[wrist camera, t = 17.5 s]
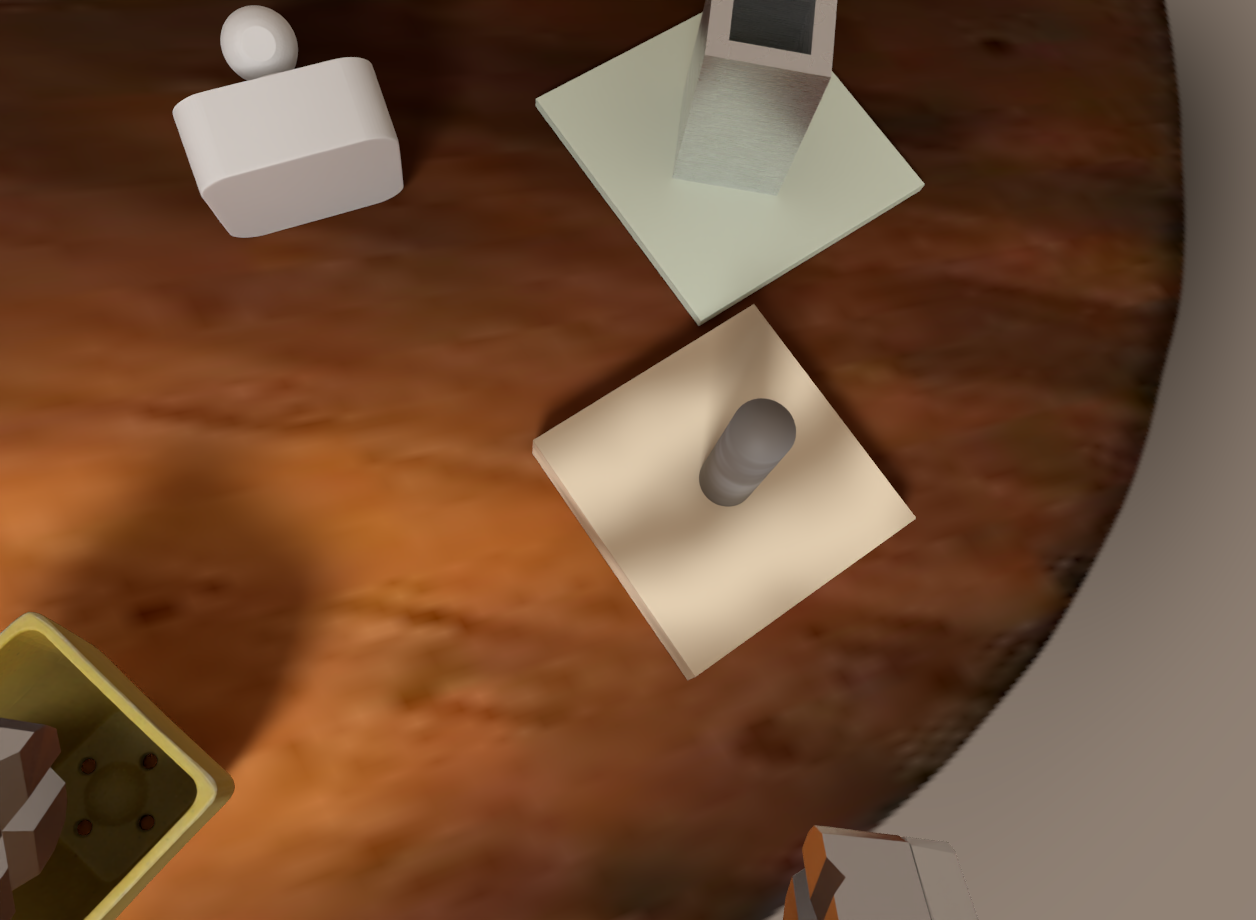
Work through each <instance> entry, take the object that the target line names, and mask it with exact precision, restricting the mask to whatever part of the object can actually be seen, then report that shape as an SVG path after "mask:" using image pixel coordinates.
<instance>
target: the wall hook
mask: <svg viewBox="0 0 1256 920" xmlns="http://www.w3.org/2000/svg"><path fill="white" fill-rule="evenodd" d="M221 48H222V52H223V55H224V57H225V59H226V61H227V63H228V64H229V66H230V67H231V68H232V69H233V70H234V71H235V72H236V73H237V74H238V75H239V76H241V77H242V78H244V79H246V80H248V81H245V82H241V83H237V84H233V85H229V86H225V87H221V88H217V89H212V90H209V91H205V92H201V93H197V94H194V95H192V96H189V97H187V98H185V99H184V100H182V101H181V102H179V103H178V104H177V105H176V106H175V107H174V109H173V117H174V119H175V122H176V125H177V128H178V131H179V134H180V137H181V140H182V142H183V145H184V148H185V151H186V154H187V157H188V160H189V163H190V165H191V168H192V171H193V174H194V177H195V180H196V183H197V186H198V188H199V191H200V194H201V196H202V197H203V199H204V200H205V202H206V203H207V204H208V206H209V207H210V208H211V210H212V211H213V212H214V214H215V215H216V217H217V218H218V219H219V221H220V222H221V223H222V225H223V226H224V227H225V229H226V230H227V231H228V232H229V234H230V235H232V236H234V237H241V238H247V237H257V236H262V235H266V234H269V233H273V232H277V231H280V230H284V229H287V228H291V227H294V226H298V225H302V224H305V223H309V222H312V221H316V220H320V219H323V218H327V217H330V216H334V215H338V214H341V213H345V212H348V211H352V210H355V209H359V208H363V207H366V206H370V205H373V204H377V203H380V202H383V201H385V200H388V199H390V198H392V197H394V196H395V195H397V194H398V193H399V192H400V191H401V190H402V189H403V186H404V185H403V175H402V165H401V156H400V148H399V142H398V138H397V136H396V133H395V130H394V127H393V124H392V121H391V118H390V115H389V112H388V110H387V107H386V104H385V101H384V98H383V95H382V92H381V89H380V86H379V84H378V81H377V78H376V75H375V72H374V69H373V66H372V64H371V63H370V62H369V61H368V60H366V59H363V58H358V57H344V58H338V59H334V60H329V61H325V62H321V63H317V64H313V65H309V66H305V67H301V68H297V69H294V68H295V65H296V62H297V57H298V44H297V40H296V36H295V34H294V31H293V29H292V28H291V26H290V25H289V23H288V22H287V21H286V20H285V19H284V18H283V17H282V16H281V15H280V14H278V13H277V12H275V11H273V10H272V9H269V8H266V7H263V6H255V5H252V6H246V7H242V8H240V9H238V10H236V11H234V12H233V13H232V14H231V15H230V16H229V17H228V18H227V20H226V21H225V23H224V25H223V28H222V31H221Z"/></svg>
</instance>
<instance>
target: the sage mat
mask: <svg viewBox="0 0 1256 920" xmlns="http://www.w3.org/2000/svg"><path fill="white" fill-rule="evenodd" d="M702 13H703V12H702ZM702 13H700V14H698V15H696V16H694V17H692V18H690V19H689V20H687V21H685V22H683V23H681V24H679V25H677V26H675V27H673V28H671V29H669V30H667V31H665V32H663V33H662V34H660V35H658V36H656V37H654V38H652V39H650V40H648V41H646V42H644V43H642V44H640V45H638V46H637V47H635V48H633V49H631V50H629V51H627V52H625V53H623V54H621V55H619V56H617V57H615V58H613V59H611V60H610V61H608V62H606V63H604V64H602V65H600V66H598V67H596V68H594V69H592V70H590V71H588V72H586V73H585V74H583V75H581V76H579V77H577V78H575V79H573V80H571V81H569V82H567V83H565V84H563V85H561V86H559V87H558V88H556V89H554V90H552V91H550V92H548V93H546V94H544V95H542V96H540V97H538V98H536V108H537V109H538V110H539V112H540V113H541V114H542V116H543V117H544V118H545V120H546V121H547V122H548V124H549V125H550V126H551V128H552V129H553V130H554V132H555V133H556V134H557V136H558V137H559V139H560V140H561V141H562V143H563V144H564V145H565V147H566V148H567V149H568V151H569V152H570V153H571V155H572V156H573V157H574V159H575V160H576V161H577V163H578V164H579V165H580V167H581V168H582V170H583V171H584V172H585V174H586V175H587V176H588V178H589V179H590V180H591V182H592V183H593V184H594V186H595V187H596V188H597V190H598V191H599V192H600V194H601V195H602V197H603V198H604V199H605V201H606V202H607V203H608V205H609V206H610V207H611V209H612V210H613V211H614V213H615V214H616V215H617V217H618V218H619V219H620V221H621V222H622V223H623V225H624V226H625V228H626V229H627V230H628V232H629V233H630V234H631V236H632V237H633V238H634V240H635V241H636V242H637V244H638V245H639V246H640V248H641V249H642V250H643V252H644V253H645V254H646V256H647V257H648V259H649V260H650V261H651V263H652V264H653V265H654V267H655V268H656V269H657V271H658V272H659V273H660V275H661V276H662V277H663V279H664V280H665V281H666V283H667V284H668V286H669V287H670V288H671V290H672V291H673V292H674V294H675V295H676V296H677V298H678V299H679V300H680V302H681V303H682V304H683V306H684V307H685V308H686V310H687V311H688V312H689V314H690V315H691V317H692V318H693V319H694V321H695V322H696V323H697V325H698V326H700V325H702V324H703V323H705V322H707V321H708V320H710V319H712V318H713V317H715V316H716V315H718V314H720V313H721V312H723V311H725V310H726V309H728V308H729V307H731V306H733V305H734V304H736V303H738V302H739V301H741V300H742V299H744V298H746V297H747V296H749V295H751V294H752V293H754V292H756V291H757V290H759V289H760V288H762V287H764V286H765V285H767V284H769V283H770V282H772V281H773V280H775V279H777V278H778V277H780V276H782V275H783V274H785V273H787V272H788V271H790V270H791V269H793V268H795V267H796V266H798V265H800V264H801V263H803V262H804V261H806V260H808V259H809V258H811V257H813V256H814V255H816V254H818V253H819V252H821V251H822V250H824V249H826V248H827V247H829V246H831V245H832V244H834V243H835V242H837V241H839V240H840V239H842V238H844V237H845V236H847V235H848V234H850V233H852V232H853V231H855V230H857V229H858V228H860V227H862V226H863V225H865V224H866V223H868V222H870V221H871V220H873V219H875V218H876V217H878V216H879V215H881V214H883V213H884V212H886V211H888V210H889V209H891V208H893V207H894V206H896V205H897V204H899V203H901V202H902V201H904V200H906V199H907V198H909V197H910V196H912V195H914V194H915V193H917V192H919V191H920V190H921V189H922V187H923V186H924V183H923V182H922V180H921V179H920V178H919V177H918V175H917V174H916V173H915V172H914V171H913V169H912V168H911V167H910V166H909V165H908V163H907V162H906V161H905V160H904V158H903V157H902V156H901V155H900V154H899V152H898V151H897V150H896V149H895V147H894V146H893V145H892V144H891V143H890V141H889V140H888V139H887V138H886V136H885V135H884V134H883V133H882V132H881V130H880V129H879V128H878V127H877V125H876V124H875V123H874V122H873V121H872V119H871V118H870V117H869V116H868V114H867V113H866V112H865V111H864V110H863V108H862V107H861V106H860V105H859V103H858V102H857V101H856V100H855V99H854V97H853V96H852V95H851V94H850V92H849V91H848V90H847V89H846V88H845V86H844V85H843V84H842V83H841V81H840V80H839V79H838V78H837V77H836V75H835V74H834V73H833V72H832V73H831V79H830V81H829V83H828V85H827V88H826V90H825V92H824V94H823V96H822V98H821V101H820V103H819V105H818V107H817V109H816V112H815V114H814V116H813V118H812V120H811V122H810V125H809V127H808V129H807V131H806V133H805V136H804V138H803V140H802V142H801V144H800V146H799V149H798V151H797V153H796V155H795V157H794V160H793V162H792V164H791V166H790V168H789V170H788V173H787V175H786V177H785V179H784V181H783V184H782V186H781V188H780V190H779V192H778V194H777V196H775V195H769V194H763V193H757V192H751V191H745V190H740V189H734V188H728V187H722V186H716V185H710V184H704V183H698V182H692V181H686V180H681V179H675V178H673V170H674V162H675V154H676V147H677V139H678V131H679V123H680V116H681V108H682V100H683V93H684V87H685V82H686V78H687V74H688V70H689V66H690V62H691V58H692V54H693V50H694V46H695V42H696V38H697V34H698V29H699V25H700V21H701V17H702Z"/></svg>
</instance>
